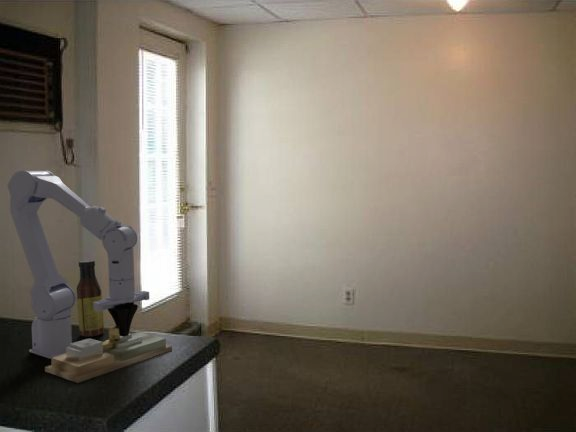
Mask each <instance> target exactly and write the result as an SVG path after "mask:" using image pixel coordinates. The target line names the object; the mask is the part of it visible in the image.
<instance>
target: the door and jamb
mask: <svg viewBox="0 0 576 432" xmlns="http://www.w3.org/2000/svg"><path fill="white" fill-rule="evenodd" d="M131 334H132V338H135V337H138V336H141V337H142V342H140V343H137V344H134V345H130V346H127V347H124V348H121V349H115V347H113V348H109V349H106V350H103V354H102V355H99V356H96V357H92V358H89V359H86V360H83V361H80V362H79V361H76V360H73V359H70V358H67V357H66V353H65V354H62V355H59V356H55V357H52V358H51V365H47V366H44V372H45V373H48V374H52V375H55V376H57V377H59V378H63V379H65V380H68V381H71V382H74V383H77V384H79V383H81V382H82V383H83V382H85V381H87V380H90V379H93V378H96V377H99V376H102V375H105V374H108V373H110V372H113V371H117V370H119V369H122V368H125V367H128V366H131V365H134V364H136V363H139V362H142V361H145V360H148V359H151V358H154V357H156V355H157V356H160V355H162V353H163V354H165V352H166V353H168V352H171V351H173V346H172V345H168V344H167V341H166V339H167V338H165V337H161V336H158V335H153V334H149V333H145V332H140V331H136V332H132V333H131ZM159 354H160V355H159ZM153 356H154V357H153Z"/></svg>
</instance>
